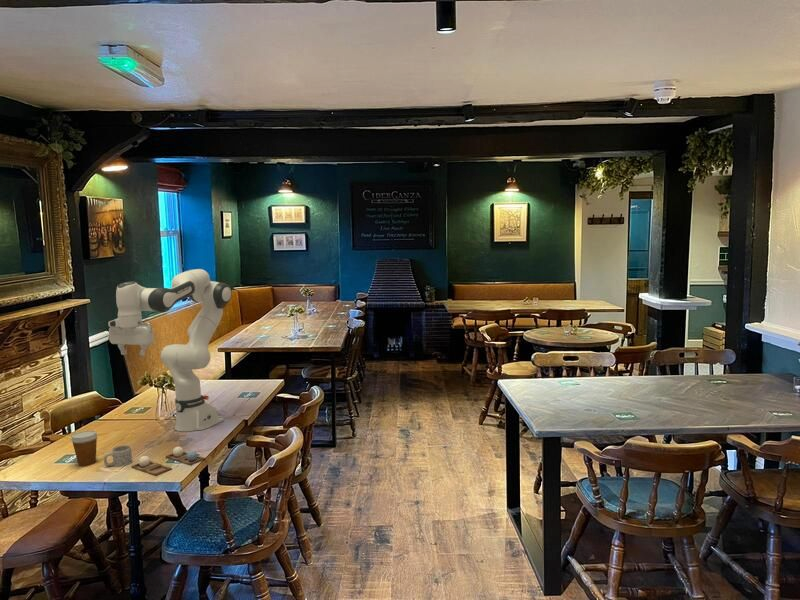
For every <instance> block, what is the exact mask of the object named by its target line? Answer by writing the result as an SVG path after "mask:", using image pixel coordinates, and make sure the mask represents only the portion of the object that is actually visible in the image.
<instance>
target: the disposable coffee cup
mask: <svg viewBox="0 0 800 600" xmlns="http://www.w3.org/2000/svg"><path fill="white" fill-rule="evenodd" d="M98 436H99V434H98V433H97V431H95V430H90V429H89V430H83V431H78V432H76V433H74V434H72V436H71V438H70V441H71V443H72V445H73V449H74V453H75V454H74V455H75V457H76V461H77V465H78V466H80V467H86V466H87V467H88V466H91V465H93V464H95V463H96V462H97V441H98V440H97V439H98Z"/></svg>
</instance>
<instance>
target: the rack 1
mask: <svg viewBox="0 0 800 600" xmlns="http://www.w3.org/2000/svg"><path fill="white" fill-rule="evenodd" d="M130 467H131V469H134V470H136V471H139V472H141V473H142V472H143V473H145V474H148V475H150V476H153V477H158V476H160V475H162V474H165V473H167V472H170V471H173V468H172V467H170V466H168V465H164V464H161V463H159V462H155V461H151V460H150V463H149V464H148V465H147V466H145V467H142V466H140V465H139V462H138V463H136V464H132V465H131V466H130Z"/></svg>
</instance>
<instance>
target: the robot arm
mask: <svg viewBox="0 0 800 600" xmlns="http://www.w3.org/2000/svg"><path fill="white" fill-rule="evenodd" d="M210 277H211V276H210V274H209V272H207V271H206V270H204V269H202V268H196V269H189V270H186V271H183V272H180V273H178V274H176V275H175V276H174V277H172V280H171V288H169V287H168V288H167V287H157V288H156V287H155V288H153V287H145V286H141V285H140V284H138V282H136V281H125V282H122V283H121V282H120V283H119V284H118V285H117V286H116V290H115V291H116V292H115V298H116V299H115V300H116V307H117V309H118V311H117V318H115V319H113V320H109V321H108V323H107V324H108V327H109V328H108V340H109V342H110V343H111V344H112V345H117V347H118V349H119V351H120V354H121V355H122V356H125V355H128V350H127V349H126V348H125V345H130V346H133V345H134V346H135V345H136V346H137V345H138V346H140V348H141V349H140V351H139V352H138V354H139V356H143V357H144V356H146V350H147V348H148V346H151V345H153V344H154V343H155V335H154V331H153V327H152V325H151V324H150V323H149V322H148V321H144V322H143V315H142V312H156V313H157V312H158V313H166V312H169V311H170V310H171V309H172V308H173V307H174V306H175V304H177V303H179V302H180V301H182V300H185V299H186V298H189V299H190V301H192V302H195V303H201V304H202V306H201V309H200V310H199V311H198V313H197V314H196V316H195V317H194V319H193V321H192V322H191V323H190V325H189V327H188V329H187V336H188V337H189V340H188V342H187V343H186V344H181V343H180V344H179V343H174V344H169V345H165V346H164V347H163V349H162V350H161V352H160V360H161V362H162V363H163V364H164V365H165V366H166V368H167V369H168V371H169V372H170V375H171V377H172V380H173V384H174V389H175V390H174V392H175V399H174V403H175V410H176V419H175V425H174V430H175V431H178V432H193V431H204V430H206V429H208V428H211V427H213V426H214V425H218V424H219V423H221V422H223V421H224V417H223V416H221V415H219V413H218V409H217V408H216V407H215V406H213V405H212V404H209V403H207V402H206V401H208V400H209V398H210V397H209V396H210V395H202V394H201V393H202V391H201V388H202V387H201V381H200V378H199V377H198V376H197V374H195V373H194V371H193V370H200V369H201V370H202V369H205V368H207V366H208V365H209V364H210V361H211V353H210V351H209V344H210V340H211V339H212V337H213V335H214V333H215V332H216V330H217V328H218V326H219V324H220V322H221V319H222V317H223V314H224V311H223V309H224V308H225V307H226V306H227V305H228V304H229V302H230V300H231V299H232V297H233V296H232V295H233V291H232V288H231V286H230V285H229V284H227V283H225V282H219V281H214V280H213V281H212V280H211V278H210ZM205 400H206V401H205Z"/></svg>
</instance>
